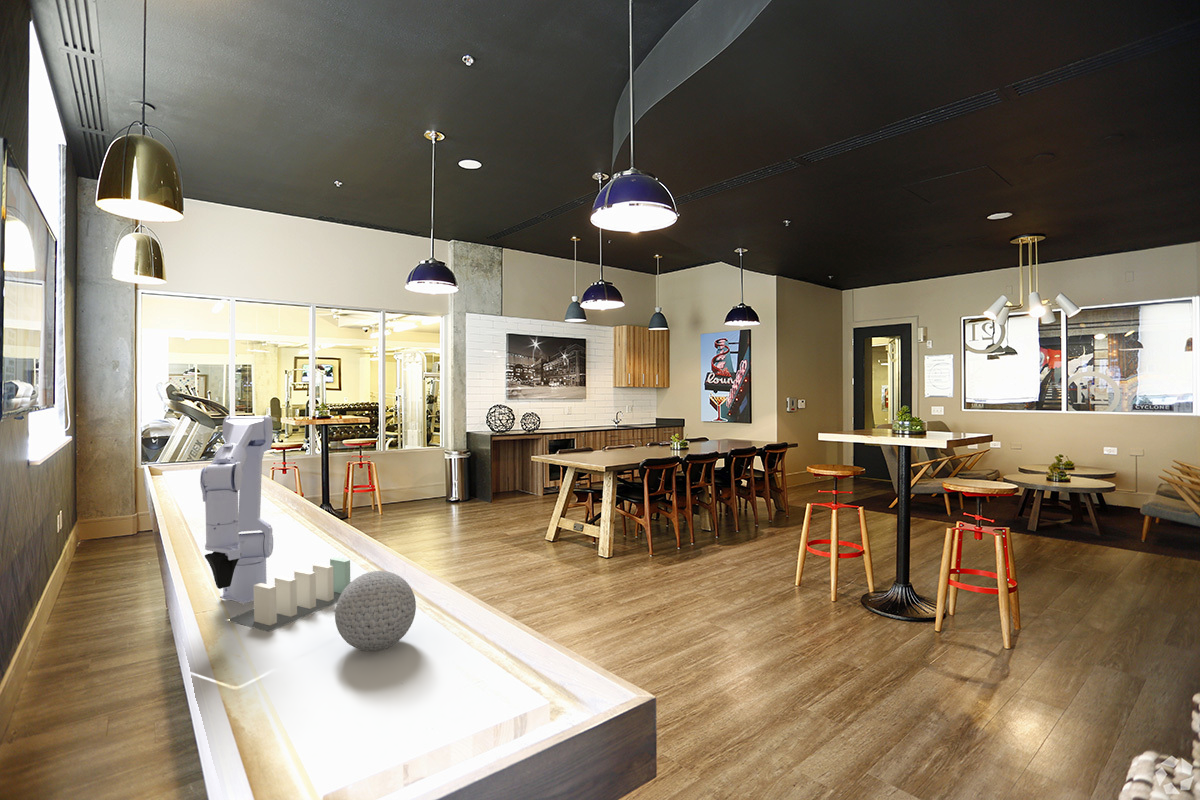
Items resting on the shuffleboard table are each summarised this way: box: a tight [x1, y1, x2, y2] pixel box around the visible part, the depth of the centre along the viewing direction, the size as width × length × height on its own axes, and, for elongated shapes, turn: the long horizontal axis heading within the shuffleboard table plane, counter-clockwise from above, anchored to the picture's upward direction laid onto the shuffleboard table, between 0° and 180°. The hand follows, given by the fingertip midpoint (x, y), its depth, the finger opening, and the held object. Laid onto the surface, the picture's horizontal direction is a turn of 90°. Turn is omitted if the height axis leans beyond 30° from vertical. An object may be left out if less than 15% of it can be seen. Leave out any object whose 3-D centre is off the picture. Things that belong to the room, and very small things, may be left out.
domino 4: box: [312, 562, 334, 601], centre depth 142 cm, size 2×5×8 cm, turn 66°
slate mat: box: [228, 581, 352, 633], centre depth 140 cm, size 14×29×1 cm, turn 156°
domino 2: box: [274, 575, 297, 617], centre depth 133 cm, size 2×5×8 cm, turn 66°
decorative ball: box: [334, 570, 417, 652], centre depth 118 cm, size 15×15×15 cm
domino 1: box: [253, 583, 277, 625], centre depth 128 cm, size 2×5×8 cm, turn 66°
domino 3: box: [293, 568, 316, 609], centre depth 137 cm, size 2×5×8 cm, turn 66°
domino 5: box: [329, 556, 351, 593], centre depth 146 cm, size 2×5×8 cm, turn 66°
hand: (223, 586), depth 123 cm, fingers closed
